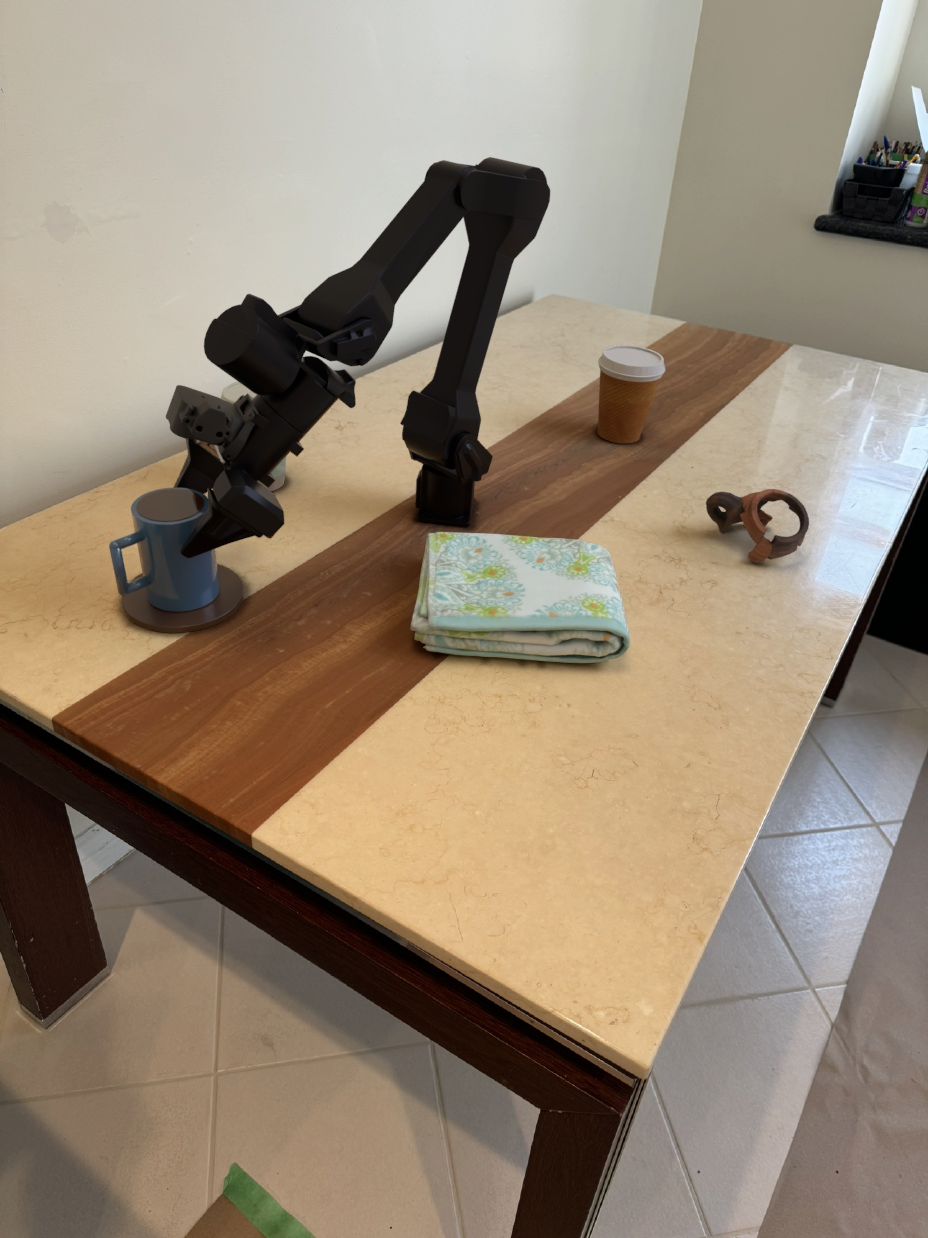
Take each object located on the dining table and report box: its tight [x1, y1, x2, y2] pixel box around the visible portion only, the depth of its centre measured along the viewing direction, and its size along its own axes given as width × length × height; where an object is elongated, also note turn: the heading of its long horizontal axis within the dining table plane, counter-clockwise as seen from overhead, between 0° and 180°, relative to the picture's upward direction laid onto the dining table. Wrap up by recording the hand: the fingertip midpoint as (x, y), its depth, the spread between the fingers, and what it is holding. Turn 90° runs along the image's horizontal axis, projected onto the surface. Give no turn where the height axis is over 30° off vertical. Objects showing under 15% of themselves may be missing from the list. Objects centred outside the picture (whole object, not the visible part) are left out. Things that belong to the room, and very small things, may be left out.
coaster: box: [121, 563, 245, 634], centre depth 89 cm, size 12×12×1 cm
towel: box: [410, 531, 631, 664], centre depth 90 cm, size 18×21×5 cm
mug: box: [108, 487, 220, 612], centre depth 85 cm, size 10×7×10 cm
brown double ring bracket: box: [705, 488, 810, 564], centre depth 105 cm, size 12×10×8 cm
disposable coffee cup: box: [597, 344, 666, 444], centre depth 126 cm, size 10×10×12 cm
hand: (176, 531), depth 85 cm, fingers open, 9 cm apart
